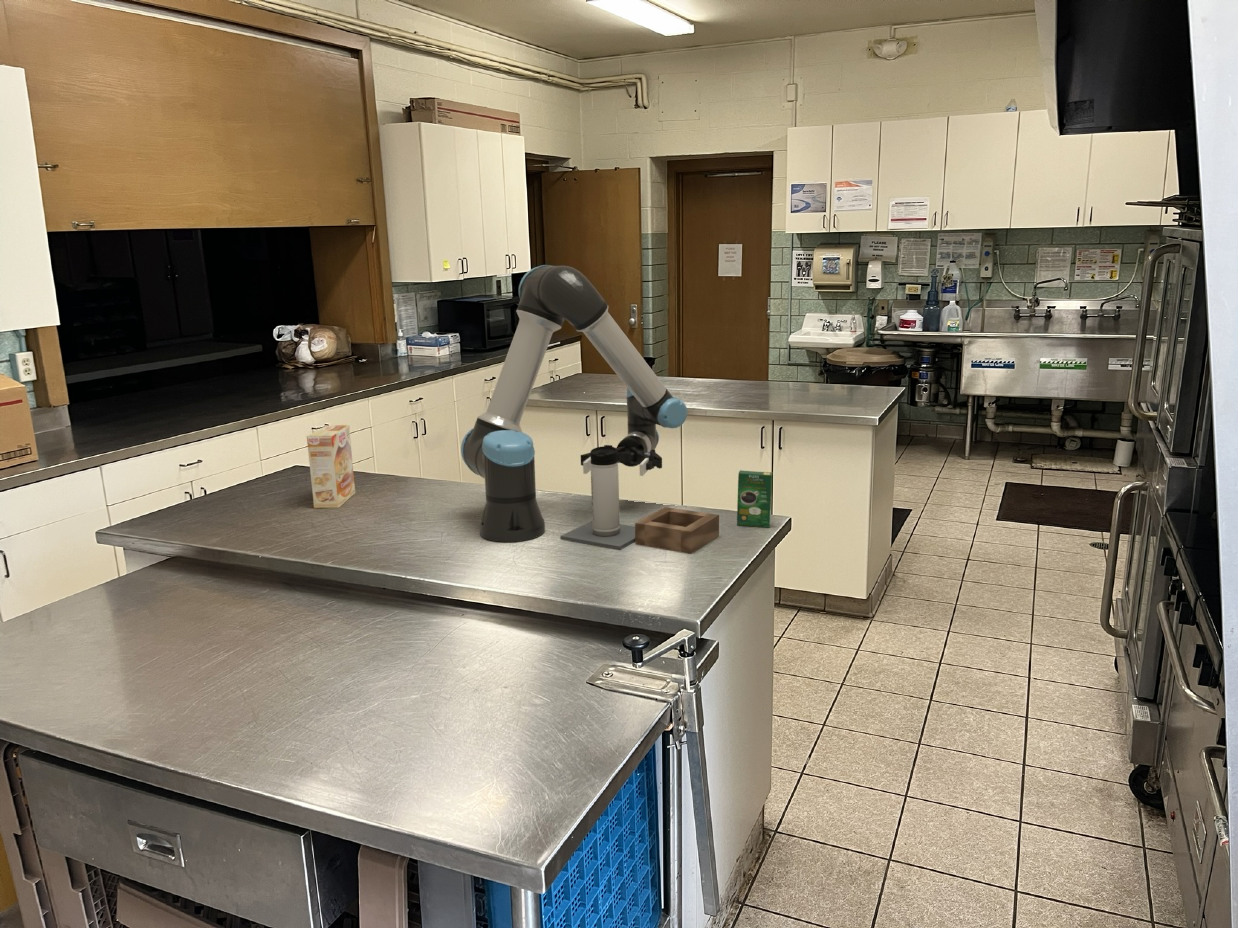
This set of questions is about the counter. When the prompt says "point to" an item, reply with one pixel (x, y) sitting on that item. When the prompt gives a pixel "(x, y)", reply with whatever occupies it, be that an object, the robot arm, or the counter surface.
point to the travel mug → (605, 491)
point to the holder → (677, 530)
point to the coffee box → (754, 498)
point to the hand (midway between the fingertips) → (612, 469)
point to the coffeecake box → (331, 466)
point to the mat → (588, 537)
